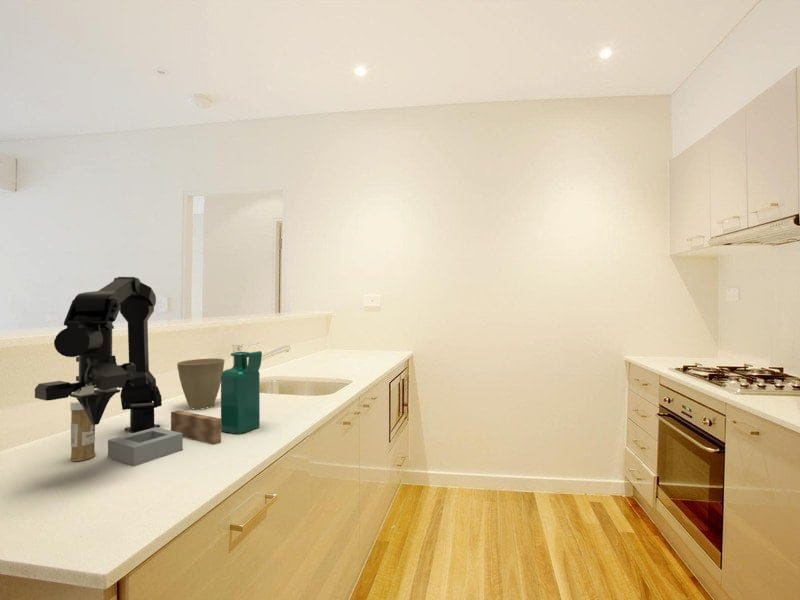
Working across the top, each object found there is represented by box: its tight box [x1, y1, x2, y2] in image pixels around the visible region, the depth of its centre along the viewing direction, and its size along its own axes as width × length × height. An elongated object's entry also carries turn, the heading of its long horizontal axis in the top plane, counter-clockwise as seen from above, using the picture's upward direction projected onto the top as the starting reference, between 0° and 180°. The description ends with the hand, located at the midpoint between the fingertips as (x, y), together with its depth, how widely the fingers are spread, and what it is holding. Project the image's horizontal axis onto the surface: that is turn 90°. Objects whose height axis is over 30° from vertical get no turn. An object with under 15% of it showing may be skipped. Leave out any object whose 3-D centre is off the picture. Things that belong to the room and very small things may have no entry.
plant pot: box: [176, 357, 225, 410], centre depth 138 cm, size 15×15×16 cm
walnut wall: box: [170, 410, 222, 445], centre depth 105 cm, size 18×2×6 cm, turn 62°
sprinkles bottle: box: [69, 399, 96, 462], centre depth 92 cm, size 5×5×13 cm
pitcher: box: [220, 350, 263, 435], centre depth 113 cm, size 10×8×22 cm
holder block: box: [107, 427, 184, 467], centre depth 94 cm, size 11×11×4 cm
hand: (95, 424), depth 85 cm, fingers closed
